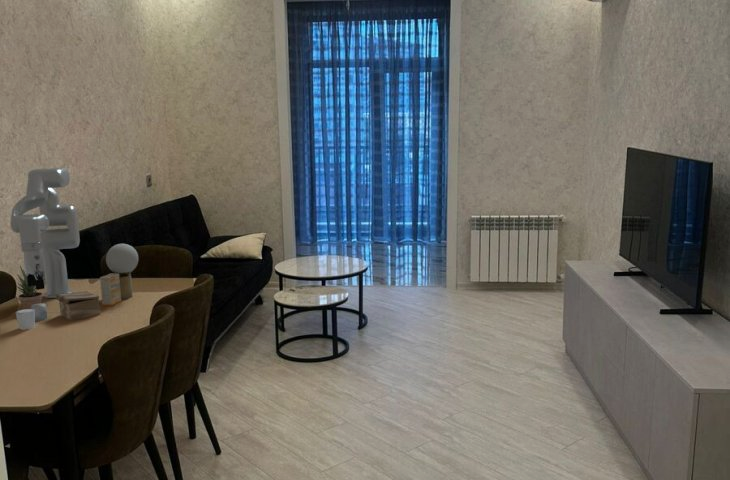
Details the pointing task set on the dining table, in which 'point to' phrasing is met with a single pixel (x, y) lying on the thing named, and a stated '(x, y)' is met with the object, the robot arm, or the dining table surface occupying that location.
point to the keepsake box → (80, 309)
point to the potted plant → (28, 293)
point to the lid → (75, 296)
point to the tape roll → (40, 311)
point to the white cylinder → (26, 318)
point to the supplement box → (110, 289)
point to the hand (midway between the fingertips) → (36, 287)
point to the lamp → (123, 266)
